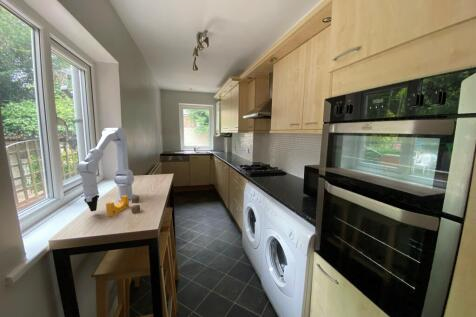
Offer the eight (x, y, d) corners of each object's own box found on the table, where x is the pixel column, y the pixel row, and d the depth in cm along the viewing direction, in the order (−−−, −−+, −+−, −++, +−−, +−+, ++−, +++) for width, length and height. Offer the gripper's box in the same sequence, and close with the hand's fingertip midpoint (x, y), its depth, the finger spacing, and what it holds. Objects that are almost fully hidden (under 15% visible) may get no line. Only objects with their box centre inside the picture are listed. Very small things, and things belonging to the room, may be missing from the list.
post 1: (131, 201, 113) (131, 196, 113) (139, 200, 115) (138, 195, 115) (131, 203, 110) (131, 198, 110) (139, 202, 112) (139, 197, 111)
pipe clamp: (122, 206, 107) (120, 195, 106) (129, 206, 106) (127, 195, 105) (104, 215, 95) (102, 203, 94) (112, 216, 94) (110, 204, 93)
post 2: (131, 211, 100) (131, 205, 99) (140, 209, 101) (139, 204, 101) (131, 213, 96) (131, 208, 96) (140, 212, 98) (140, 206, 98)
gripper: (83, 182, 99) (86, 207, 101) (76, 190, 86) (80, 218, 88) (99, 180, 102) (103, 204, 104) (95, 187, 90) (98, 214, 92)
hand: (93, 210), depth 97 cm, fingers closed
